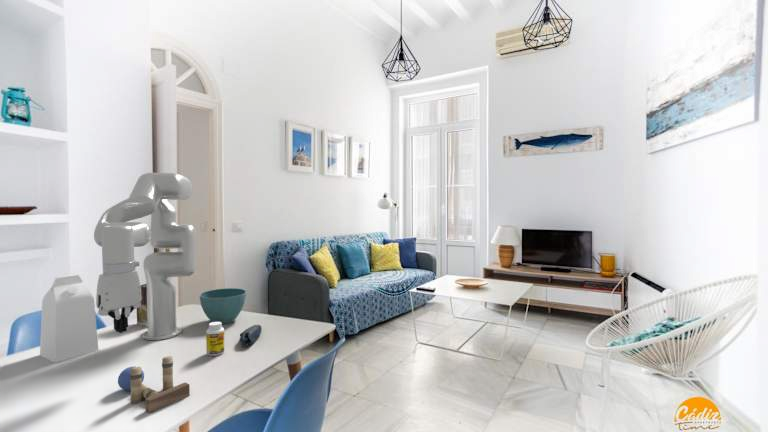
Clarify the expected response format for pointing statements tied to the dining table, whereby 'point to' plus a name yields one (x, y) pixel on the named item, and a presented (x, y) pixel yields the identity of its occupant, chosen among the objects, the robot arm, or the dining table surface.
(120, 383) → the ball
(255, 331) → the fish model
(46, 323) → the milk
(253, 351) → the dining table surface
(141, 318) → the coffee box
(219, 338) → the supplement bottle
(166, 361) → the back left pin
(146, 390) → the front pin
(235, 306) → the teal bowl
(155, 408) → the back wall
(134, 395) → the back right pin
